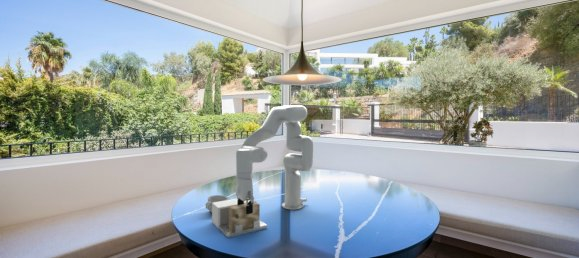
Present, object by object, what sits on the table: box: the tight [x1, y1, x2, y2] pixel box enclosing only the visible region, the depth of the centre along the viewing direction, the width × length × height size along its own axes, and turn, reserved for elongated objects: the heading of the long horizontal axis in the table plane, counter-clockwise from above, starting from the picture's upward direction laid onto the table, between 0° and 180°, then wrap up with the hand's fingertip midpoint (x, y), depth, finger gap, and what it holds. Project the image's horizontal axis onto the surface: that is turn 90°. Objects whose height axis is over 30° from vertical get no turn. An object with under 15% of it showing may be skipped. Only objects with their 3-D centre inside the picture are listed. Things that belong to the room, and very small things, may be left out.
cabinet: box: [211, 198, 257, 229], centre depth 145 cm, size 20×9×10 cm, turn 124°
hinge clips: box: [217, 219, 268, 239], centre depth 136 cm, size 20×12×4 cm, turn 124°
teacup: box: [205, 194, 229, 213], centre depth 157 cm, size 14×11×8 cm
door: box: [229, 201, 261, 231], centre depth 134 cm, size 14×5×10 cm, turn 124°
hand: (245, 210), depth 135 cm, fingers open, 9 cm apart
